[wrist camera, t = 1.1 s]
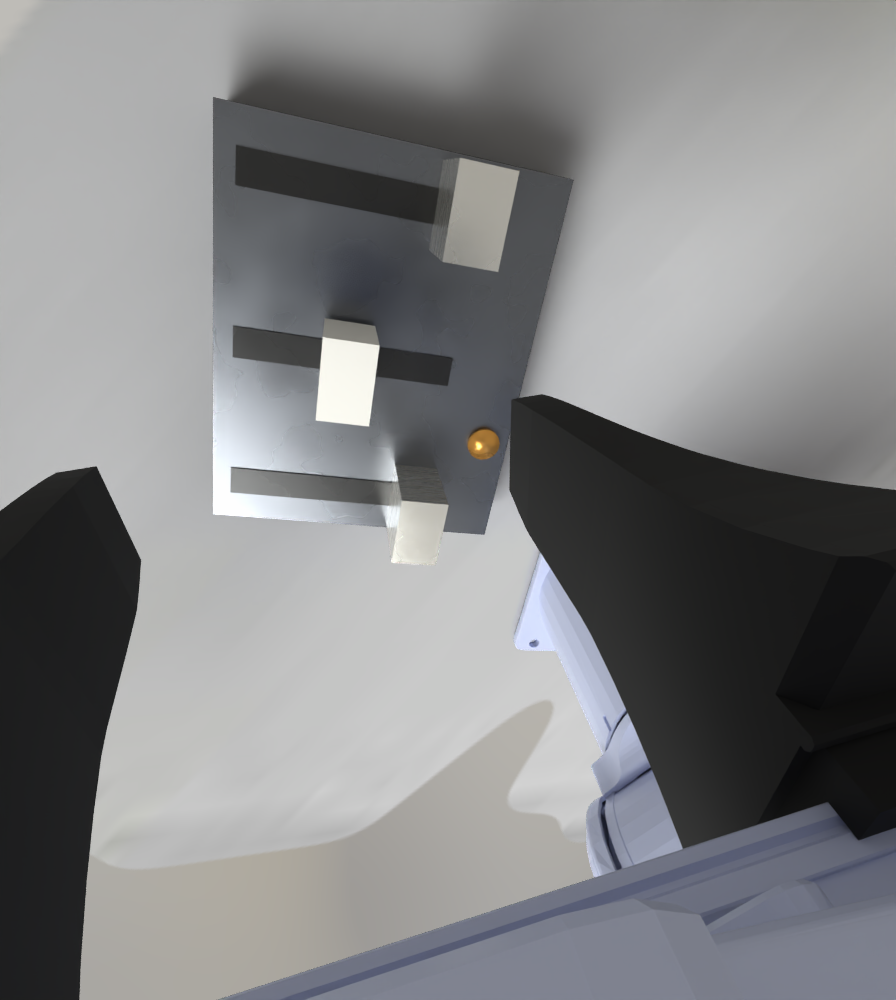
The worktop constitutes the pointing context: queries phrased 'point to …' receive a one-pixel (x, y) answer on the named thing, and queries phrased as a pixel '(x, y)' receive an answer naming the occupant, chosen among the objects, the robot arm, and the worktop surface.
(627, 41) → the worktop surface
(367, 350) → the white slider knob
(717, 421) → the worktop surface
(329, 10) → the worktop surface
